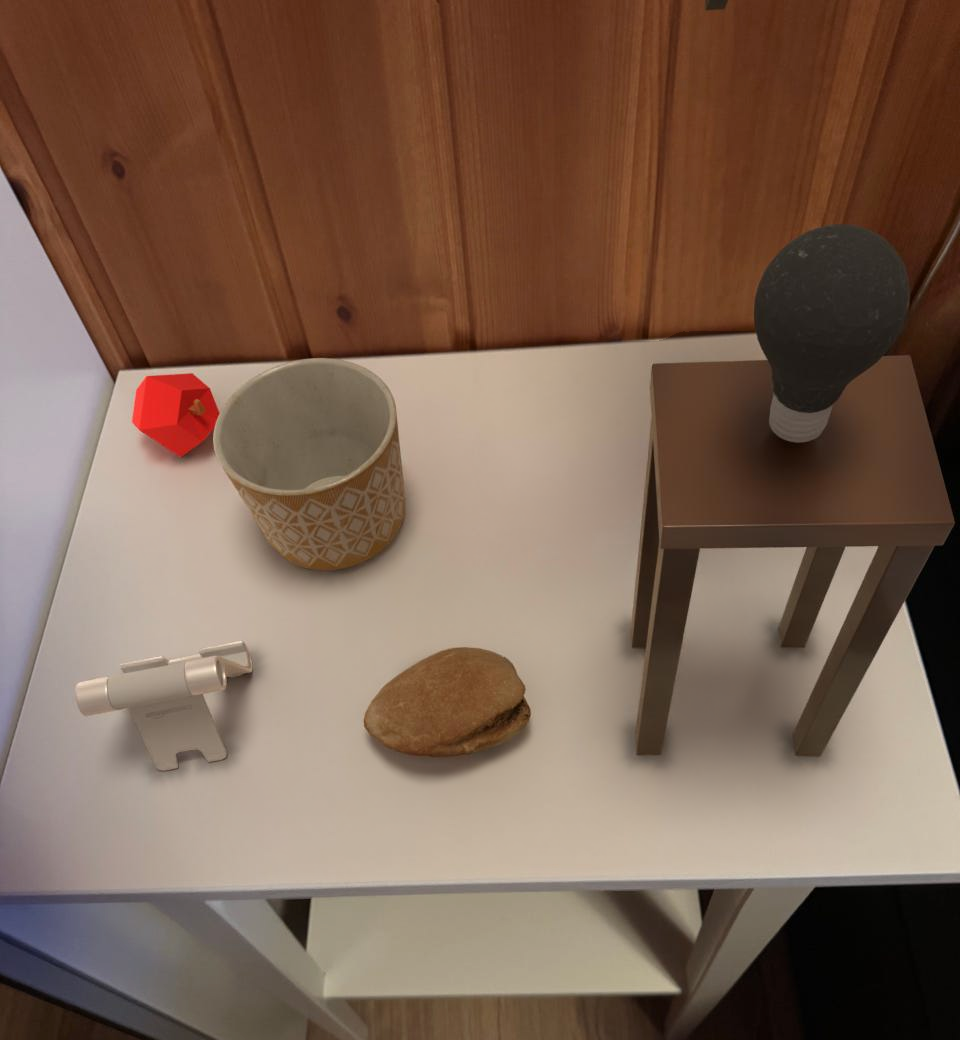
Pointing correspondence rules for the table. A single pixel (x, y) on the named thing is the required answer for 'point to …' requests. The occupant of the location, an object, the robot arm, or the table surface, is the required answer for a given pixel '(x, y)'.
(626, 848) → the table surface
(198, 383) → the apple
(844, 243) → the light bulb
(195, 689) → the tablet stand
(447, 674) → the stone
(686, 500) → the walnut stand
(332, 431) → the planter
